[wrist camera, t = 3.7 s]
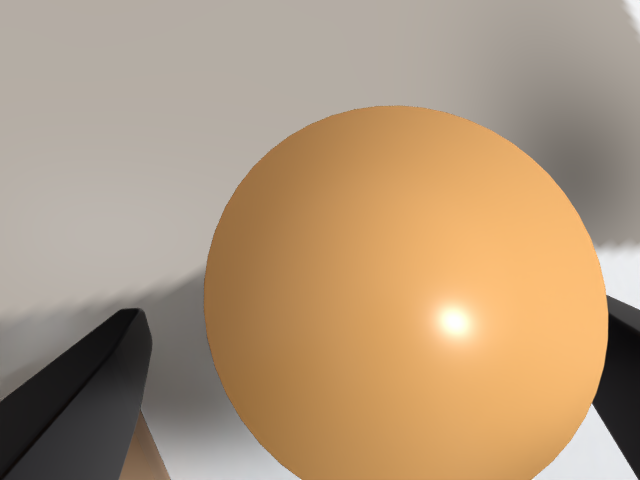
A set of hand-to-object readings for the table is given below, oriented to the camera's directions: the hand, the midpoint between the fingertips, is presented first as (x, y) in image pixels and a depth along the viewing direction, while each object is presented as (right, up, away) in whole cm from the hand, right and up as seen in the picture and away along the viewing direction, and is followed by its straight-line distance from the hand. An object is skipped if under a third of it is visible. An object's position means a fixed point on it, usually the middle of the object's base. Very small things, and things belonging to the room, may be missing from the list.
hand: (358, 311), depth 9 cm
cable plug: (0, -2, +8) cm, 8 cm away
